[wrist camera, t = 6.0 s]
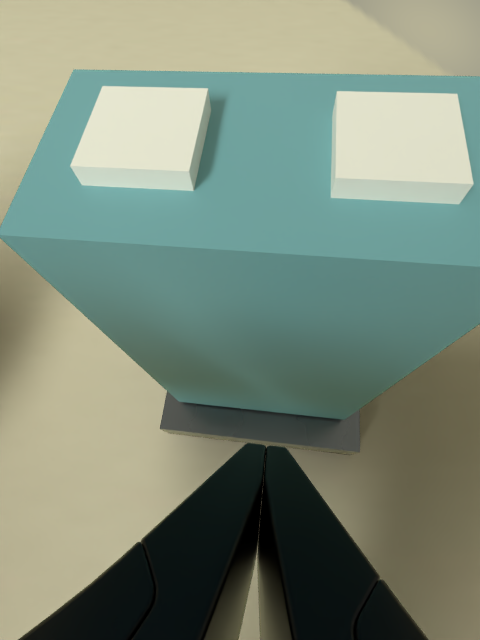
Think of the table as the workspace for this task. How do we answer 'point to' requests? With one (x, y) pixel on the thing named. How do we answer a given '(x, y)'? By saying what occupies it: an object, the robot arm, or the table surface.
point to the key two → (262, 227)
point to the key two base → (262, 427)
